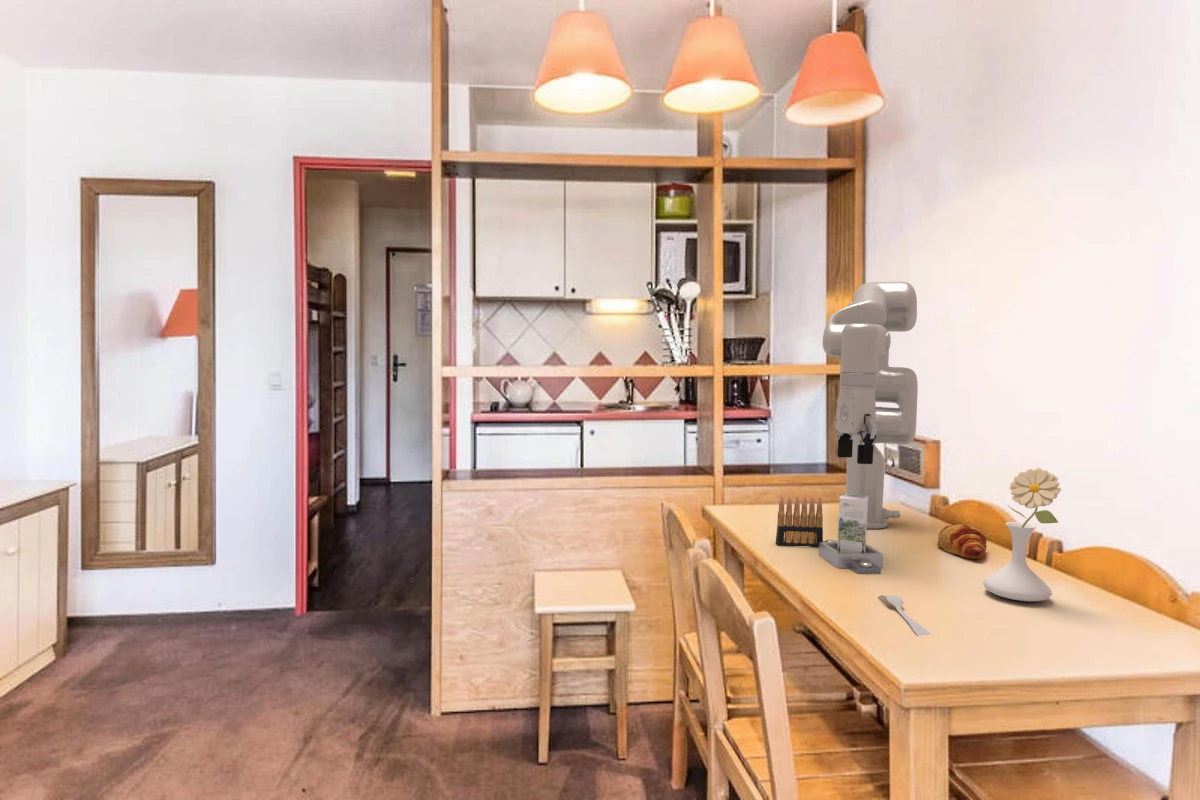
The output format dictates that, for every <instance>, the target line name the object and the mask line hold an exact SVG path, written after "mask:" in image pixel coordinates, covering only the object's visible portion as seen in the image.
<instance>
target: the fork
mask: <svg viewBox="0 0 1200 800" xmlns="http://www.w3.org/2000/svg"><path fill="white" fill-rule="evenodd" d="M882 597H883V598H884V597H886V598H885V599H886V600H887V602H888V603H889V604H891V605H893V606H894V607H895V608H896V611H897V612H898V613H899V614H900V615H901V617H902V618H904V620H905V621H906V622H907V623H908V625H909V626H910V628H911V629H912V631H913V633H915V635H916V634H917V635H918V636H919V635H920V636H921V635H923V636H924V635H926V636H927V635H932V634H931V632H930V631H928V630H927V629H926V628H925V627H924V626H922V625H921V624H919V623H918V622H916V621H915V620H914V619H913V618H911V617H910V616H908V615H907V614H906V612H904V611H903V609H902V605H903V604H904V603H905V602H904V600H903V597H901V596H899V595H890V594H889V595H887V594H886V595H885V594H883V595H878V598H882ZM917 635H916V636H917ZM918 636H917V637H918Z"/></svg>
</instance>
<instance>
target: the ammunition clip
mask: <svg viewBox="0 0 1200 800" xmlns="http://www.w3.org/2000/svg"><path fill="white" fill-rule="evenodd" d="M778 503H779V504H778V511H777V525H776V535H775V545H776V546H778V547H794V546H811V547H810V548H818V547H817V542H823V541H824V527H823V521H824V520H823V519H824V517H823V516H824V515H823V501H822V498H821V497H819V498H818V500H817V503H816V508H815V499H814V497H811V498H810V501H809V508H808V501H807V498H806V497H805V496H804V497H803V499H802V504H800V499H799V496H796V498H795V500H794V505H793V504H792V503H793V502H792V498H791V496H789V497H788V498H787V502H786V511H785V500H784V497H783V496H780V499H779V502H778ZM800 505H801V506H800ZM793 506H794V509H793ZM800 507H801V510H800ZM815 509H816V512H815ZM800 511H801V513H800Z"/></svg>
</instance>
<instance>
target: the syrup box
mask: <svg viewBox="0 0 1200 800" xmlns="http://www.w3.org/2000/svg"><path fill="white" fill-rule="evenodd" d="M867 513H868V496H862V495H850V494H846V493H841V494H840V496H839V505H838V518H839V521H837V522H838V523H837V542H838V543H837V551H838V552H840V553H865V549H866V545H867V544H866V543H867V529H868V528H867Z"/></svg>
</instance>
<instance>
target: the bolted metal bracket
mask: <svg viewBox="0 0 1200 800" xmlns="http://www.w3.org/2000/svg"><path fill="white" fill-rule="evenodd" d="M837 543H838V540H832V539H825V540H823V542H817V547H816V548H818V556H819V557H820V558H822V559H823V560H825V561H826V562H828V563H829V564H831V565H832V566H834V567H835V568H836V569H850V571H852V572H854V573H855V574H858V575H861V574H865V575H866V574H868V575H870V574H871V575H872V574H873V575H874V574H881V573H882V571H881V569H883V568H884V553H882V552H880V551H879V550H877V549H875V548H873V547H872V546H870V545H868V544H866V549H865V553H840V552H838V551H837Z"/></svg>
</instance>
